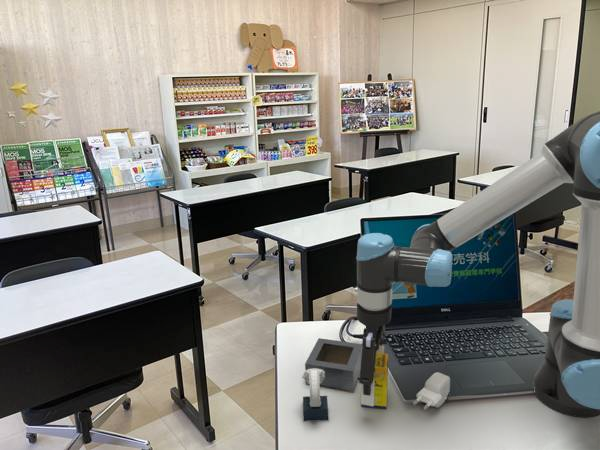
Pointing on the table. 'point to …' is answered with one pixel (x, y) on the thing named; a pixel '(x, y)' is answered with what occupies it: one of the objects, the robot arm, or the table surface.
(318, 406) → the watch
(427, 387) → the power adapter
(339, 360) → the hollow block
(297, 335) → the table surface
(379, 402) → the supplement box
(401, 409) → the table surface
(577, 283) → the robot arm
